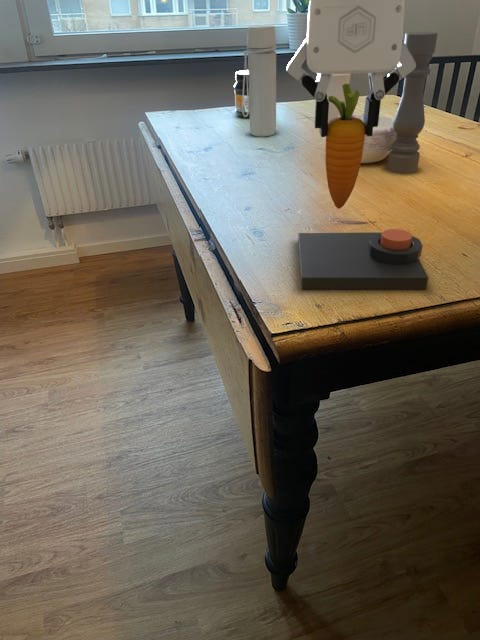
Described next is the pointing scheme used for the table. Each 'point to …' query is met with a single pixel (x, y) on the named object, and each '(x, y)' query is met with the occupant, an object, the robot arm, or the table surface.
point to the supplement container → (239, 92)
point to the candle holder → (411, 105)
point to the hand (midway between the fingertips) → (345, 132)
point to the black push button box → (358, 263)
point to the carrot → (344, 148)
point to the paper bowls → (378, 139)
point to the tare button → (396, 239)
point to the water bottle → (261, 80)
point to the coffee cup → (336, 92)
